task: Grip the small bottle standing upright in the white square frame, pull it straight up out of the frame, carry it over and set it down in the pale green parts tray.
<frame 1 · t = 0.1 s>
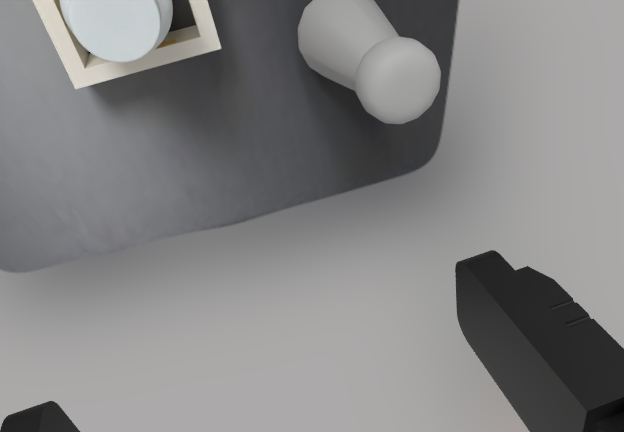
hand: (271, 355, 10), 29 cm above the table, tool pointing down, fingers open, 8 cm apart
salt shaker: (329, 24, 37), on the table
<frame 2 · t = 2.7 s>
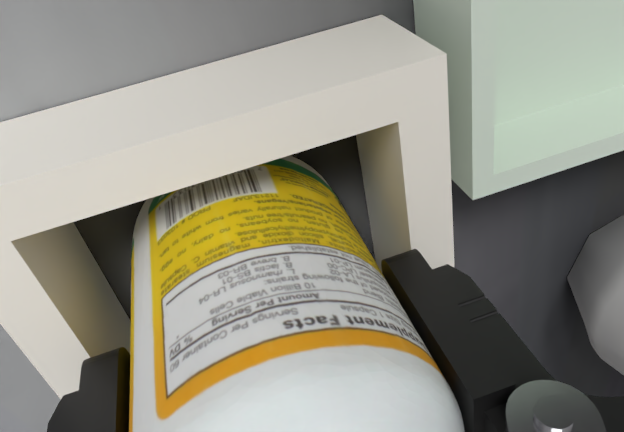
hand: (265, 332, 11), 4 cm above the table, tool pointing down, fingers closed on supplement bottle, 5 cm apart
white square frame: (239, 235, 14), on the table
supplement bottle: (238, 231, 14), resting in white square frame, touching gripper
salt shaker: (615, 251, 19), on the table
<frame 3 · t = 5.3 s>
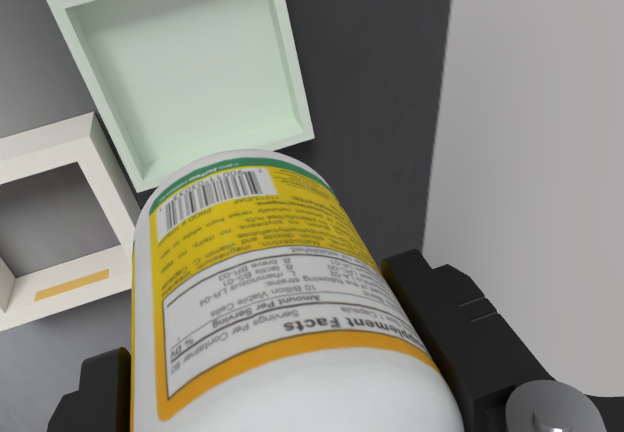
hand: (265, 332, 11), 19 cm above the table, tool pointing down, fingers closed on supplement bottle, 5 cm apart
white square frame: (47, 210, 28), on the table
parts tray: (193, 62, 26), on the table
supplement bottle: (238, 232, 14), point 15 cm above the table, touching gripper
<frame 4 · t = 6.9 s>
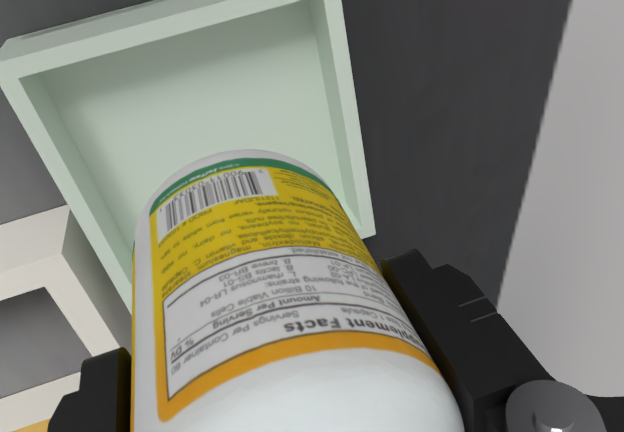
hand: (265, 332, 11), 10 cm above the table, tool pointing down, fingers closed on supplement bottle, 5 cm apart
white square frame: (9, 328, 21), on the table
parts tray: (211, 134, 19), on the table
supplement bottle: (238, 232, 14), point 6 cm above the table, touching gripper
when the fingers open (5 cm above the table, at t = 8.3 s): supplement bottle drops 1 cm, resting on parts tray.
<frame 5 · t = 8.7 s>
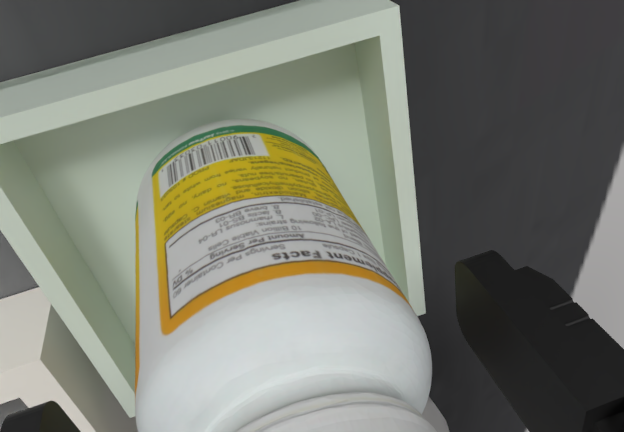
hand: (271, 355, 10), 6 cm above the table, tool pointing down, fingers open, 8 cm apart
parts tray: (228, 196, 15), on the table
supplement bottle: (233, 200, 15), resting on parts tray
salt shaker: (353, 394, 22), on the table
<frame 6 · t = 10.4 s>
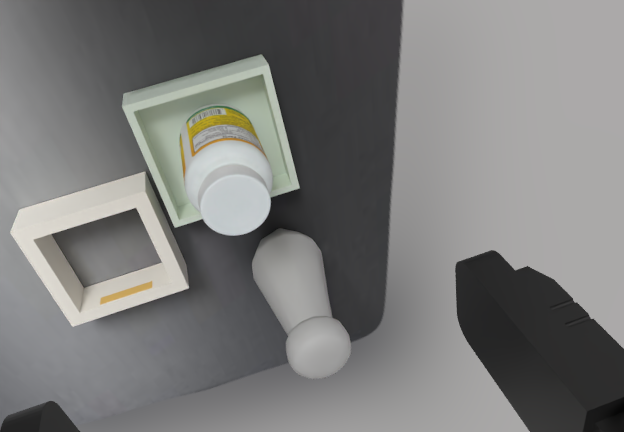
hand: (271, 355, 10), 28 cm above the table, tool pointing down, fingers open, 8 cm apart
white square frame: (109, 239, 40), on the table
parts tray: (214, 136, 38), on the table
supplement bottle: (216, 137, 37), resting on parts tray
salt shaker: (281, 246, 45), on the table
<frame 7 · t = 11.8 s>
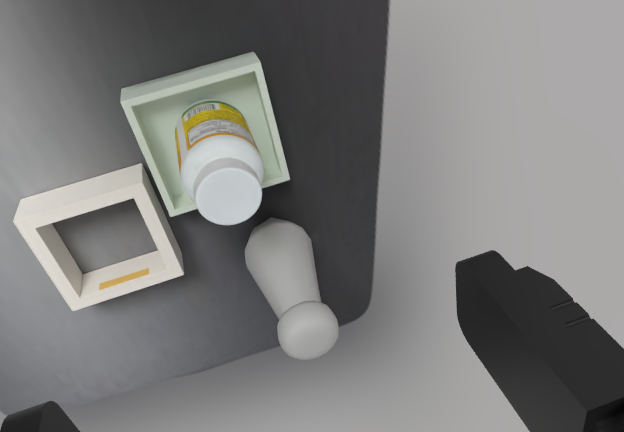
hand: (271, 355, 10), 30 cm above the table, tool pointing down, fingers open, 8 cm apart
white square frame: (107, 228, 42), on the table
parts tray: (208, 130, 39), on the table
supplement bottle: (210, 130, 39), resting on parts tray
salt shaker: (272, 235, 46), on the table
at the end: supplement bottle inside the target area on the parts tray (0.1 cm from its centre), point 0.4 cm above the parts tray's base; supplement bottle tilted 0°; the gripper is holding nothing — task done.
